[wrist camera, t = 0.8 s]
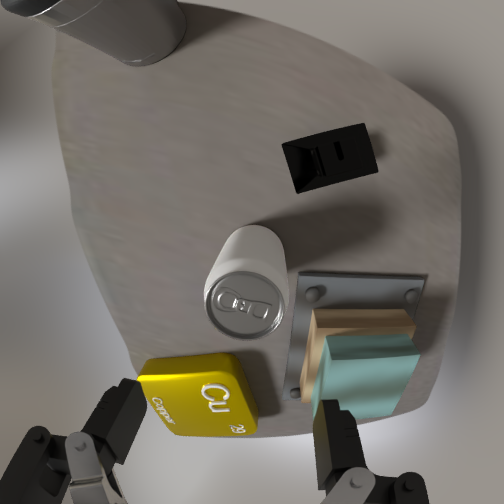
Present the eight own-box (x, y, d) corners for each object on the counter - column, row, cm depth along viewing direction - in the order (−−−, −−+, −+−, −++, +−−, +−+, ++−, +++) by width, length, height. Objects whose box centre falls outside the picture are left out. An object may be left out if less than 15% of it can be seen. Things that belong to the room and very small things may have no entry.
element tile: (141, 357, 37) (129, 378, 33) (236, 348, 35) (231, 372, 31) (179, 418, 42) (172, 438, 37) (261, 415, 40) (260, 437, 35)
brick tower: (298, 272, 31) (307, 314, 22) (421, 276, 30) (457, 311, 21) (282, 395, 37) (282, 443, 29) (381, 391, 36) (396, 433, 28)
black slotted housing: (372, 114, 25) (389, 107, 21) (390, 177, 27) (408, 181, 23) (263, 141, 27) (262, 137, 23) (284, 206, 29) (287, 214, 25)
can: (234, 215, 29) (210, 252, 18) (292, 234, 29) (305, 282, 18) (218, 269, 31) (190, 330, 20) (272, 287, 32) (272, 354, 20)
